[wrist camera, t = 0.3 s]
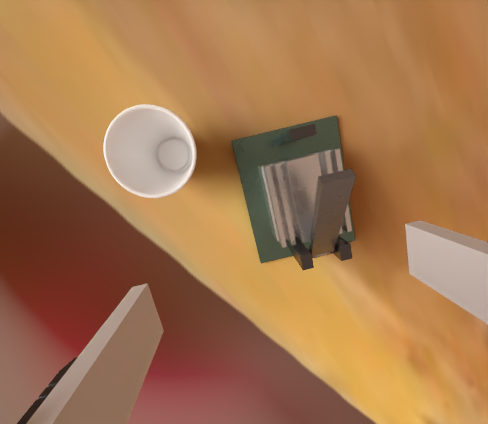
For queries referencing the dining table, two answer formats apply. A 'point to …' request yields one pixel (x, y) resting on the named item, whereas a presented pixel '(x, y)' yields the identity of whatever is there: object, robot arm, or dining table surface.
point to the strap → (329, 210)
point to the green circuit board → (290, 187)
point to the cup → (150, 151)
